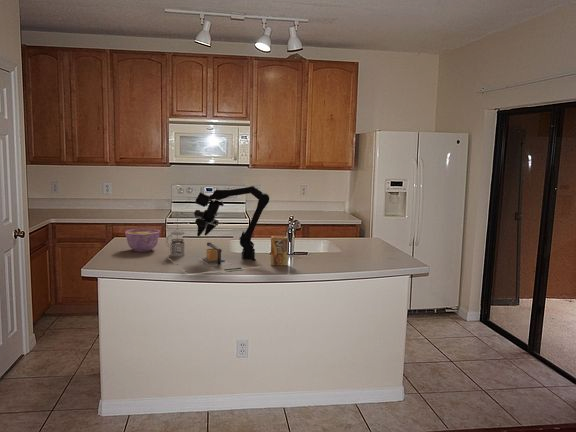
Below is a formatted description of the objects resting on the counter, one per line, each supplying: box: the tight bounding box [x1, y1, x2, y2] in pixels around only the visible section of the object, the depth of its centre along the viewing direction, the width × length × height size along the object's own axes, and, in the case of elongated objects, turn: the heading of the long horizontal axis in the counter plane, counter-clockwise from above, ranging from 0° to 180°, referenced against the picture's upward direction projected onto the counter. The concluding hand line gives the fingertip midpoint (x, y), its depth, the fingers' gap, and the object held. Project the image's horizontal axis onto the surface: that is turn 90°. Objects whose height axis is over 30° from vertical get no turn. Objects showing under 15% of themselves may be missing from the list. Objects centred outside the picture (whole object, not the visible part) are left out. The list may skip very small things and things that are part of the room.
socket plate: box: [198, 256, 232, 267], centre depth 271 cm, size 12×20×2 cm, turn 28°
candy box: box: [270, 235, 288, 266], centre depth 270 cm, size 9×4×15 cm, turn 89°
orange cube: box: [206, 248, 218, 261], centre depth 272 cm, size 6×6×6 cm
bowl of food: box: [124, 228, 161, 253], centre depth 296 cm, size 20×20×12 cm
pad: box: [223, 267, 244, 273], centre depth 260 cm, size 9×9×1 cm
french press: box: [165, 212, 185, 257], centre depth 282 cm, size 10×12×25 cm
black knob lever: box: [206, 241, 222, 264], centre depth 271 cm, size 19×2×8 cm, turn 28°
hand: (201, 235), depth 278 cm, fingers open, 9 cm apart
